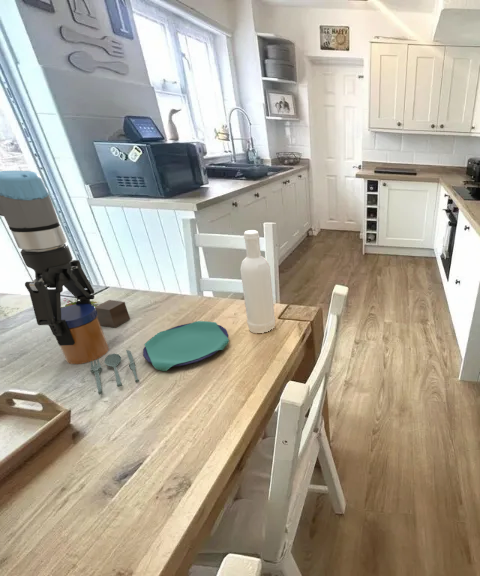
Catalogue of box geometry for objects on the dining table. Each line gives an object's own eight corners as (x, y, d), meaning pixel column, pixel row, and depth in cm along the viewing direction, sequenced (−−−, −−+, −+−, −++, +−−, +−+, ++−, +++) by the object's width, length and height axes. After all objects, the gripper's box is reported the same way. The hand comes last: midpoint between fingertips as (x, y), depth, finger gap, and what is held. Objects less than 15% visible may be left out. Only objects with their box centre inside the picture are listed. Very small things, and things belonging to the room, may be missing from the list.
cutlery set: (240, 351, 88) (239, 344, 86) (97, 404, 69) (93, 396, 68) (215, 320, 100) (214, 314, 99) (89, 357, 81) (86, 350, 80)
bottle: (268, 317, 104) (258, 226, 91) (280, 327, 99) (272, 233, 86) (243, 325, 99) (229, 230, 86) (255, 337, 94) (242, 237, 81)
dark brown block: (100, 325, 94) (93, 307, 91) (115, 317, 98) (109, 299, 96) (115, 327, 94) (109, 309, 91) (130, 319, 98) (124, 301, 95)
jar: (56, 361, 80) (37, 321, 74) (89, 342, 87) (74, 304, 82) (86, 366, 79) (69, 326, 74) (117, 346, 86) (103, 308, 81)
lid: (39, 330, 74) (35, 323, 73) (65, 311, 81) (62, 304, 80) (83, 328, 75) (81, 321, 75) (105, 309, 83) (102, 303, 82)
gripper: (57, 232, 79) (88, 312, 89) (-22, 265, 60) (28, 361, 70) (93, 232, 80) (119, 311, 90) (26, 264, 62) (69, 359, 72)
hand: (79, 333), depth 80 cm, fingers closed on lid, 9 cm apart
